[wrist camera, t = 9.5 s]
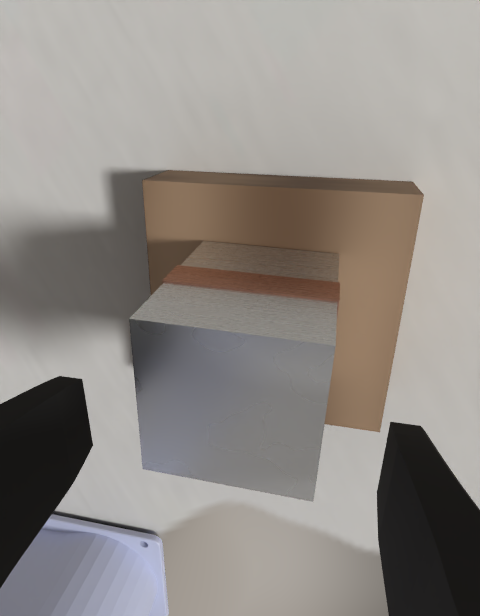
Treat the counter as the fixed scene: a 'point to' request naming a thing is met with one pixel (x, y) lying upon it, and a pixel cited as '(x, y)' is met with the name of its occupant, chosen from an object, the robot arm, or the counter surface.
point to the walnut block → (310, 237)
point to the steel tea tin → (238, 367)
